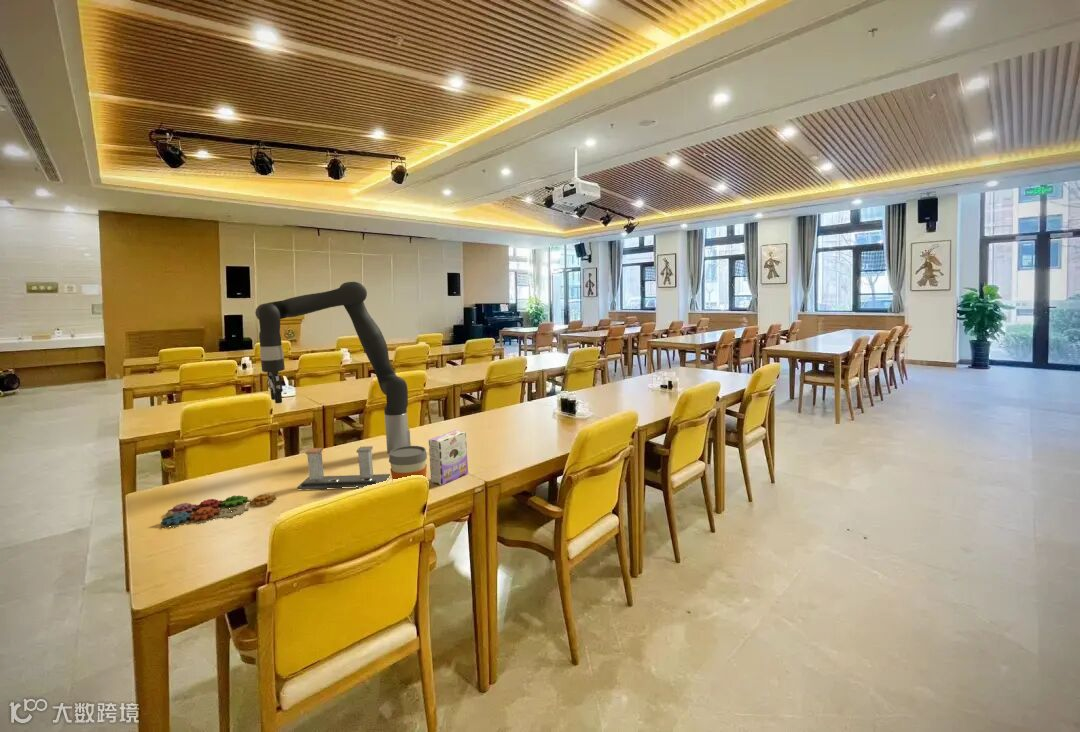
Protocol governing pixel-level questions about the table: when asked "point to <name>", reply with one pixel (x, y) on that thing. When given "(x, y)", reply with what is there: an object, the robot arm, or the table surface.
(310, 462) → the sliding pointer
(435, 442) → the candy box
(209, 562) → the table surface
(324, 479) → the bolt plate
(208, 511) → the gear puzzle
